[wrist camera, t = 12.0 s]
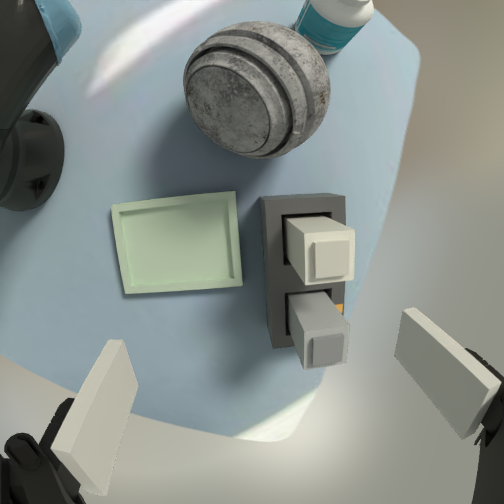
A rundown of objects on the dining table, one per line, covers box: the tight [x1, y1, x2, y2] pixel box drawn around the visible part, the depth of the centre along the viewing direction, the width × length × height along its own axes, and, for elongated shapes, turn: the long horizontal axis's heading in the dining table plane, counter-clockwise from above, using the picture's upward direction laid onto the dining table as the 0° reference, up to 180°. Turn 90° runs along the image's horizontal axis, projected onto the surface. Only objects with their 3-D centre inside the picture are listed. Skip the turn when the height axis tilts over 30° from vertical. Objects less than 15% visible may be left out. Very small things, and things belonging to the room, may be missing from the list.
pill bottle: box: [295, 0, 374, 55], centre depth 25 cm, size 8×7×14 cm
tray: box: [111, 191, 243, 294], centre depth 37 cm, size 16×12×2 cm
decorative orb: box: [183, 21, 330, 159], centre depth 27 cm, size 15×14×15 cm
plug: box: [285, 289, 350, 370], centre depth 32 cm, size 4×4×13 cm
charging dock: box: [260, 193, 355, 348], centre depth 32 cm, size 9×18×15 cm, turn 4°
